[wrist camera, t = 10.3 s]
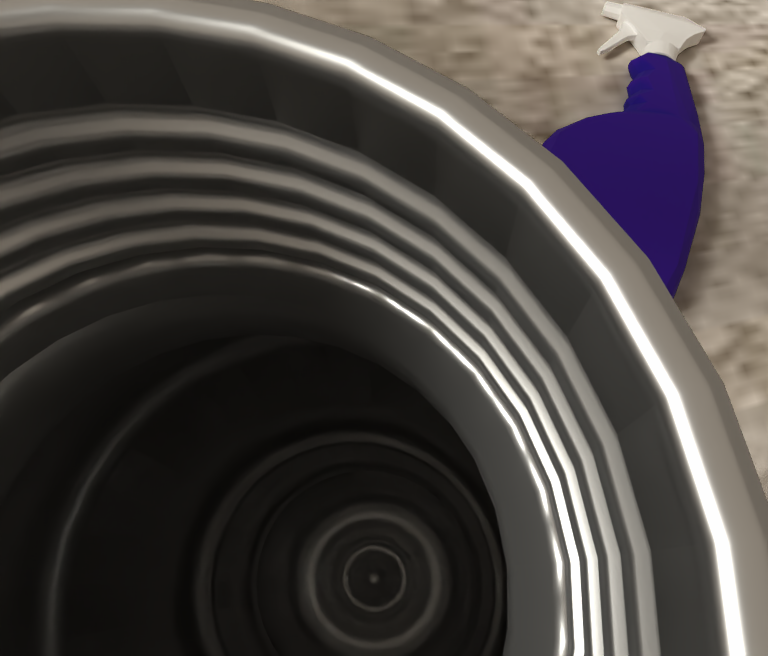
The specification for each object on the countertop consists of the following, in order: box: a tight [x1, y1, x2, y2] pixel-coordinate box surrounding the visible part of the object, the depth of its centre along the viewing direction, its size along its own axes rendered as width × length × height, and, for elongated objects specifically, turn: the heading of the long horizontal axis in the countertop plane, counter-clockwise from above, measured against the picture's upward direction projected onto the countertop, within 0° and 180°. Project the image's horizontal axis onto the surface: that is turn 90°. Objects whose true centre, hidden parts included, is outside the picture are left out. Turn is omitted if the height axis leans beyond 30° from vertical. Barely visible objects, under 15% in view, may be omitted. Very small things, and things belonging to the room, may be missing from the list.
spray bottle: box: [542, 1, 706, 298], centre depth 42 cm, size 3×11×24 cm
